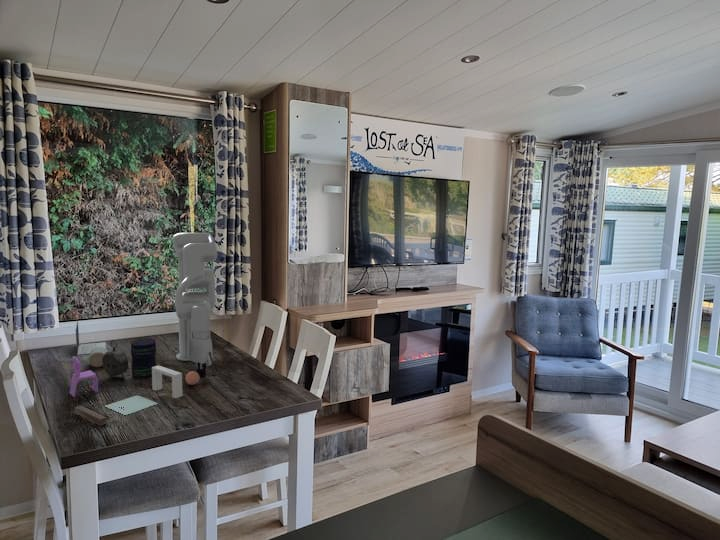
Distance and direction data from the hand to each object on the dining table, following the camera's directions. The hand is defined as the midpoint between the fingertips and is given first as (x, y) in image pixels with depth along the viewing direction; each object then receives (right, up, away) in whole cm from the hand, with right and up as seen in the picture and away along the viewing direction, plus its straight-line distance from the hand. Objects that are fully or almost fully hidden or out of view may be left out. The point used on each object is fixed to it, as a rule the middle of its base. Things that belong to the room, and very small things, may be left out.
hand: (201, 377), depth 210 cm
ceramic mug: (-50, +2, +18) cm, 53 cm away
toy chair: (-41, -3, -15) cm, 43 cm away
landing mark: (-18, -5, -25) cm, 31 cm away
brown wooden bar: (-26, -6, -38) cm, 46 cm away
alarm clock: (-37, -1, +2) cm, 37 cm away
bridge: (-9, -3, -13) cm, 16 cm away
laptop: (-67, +5, +41) cm, 79 cm away
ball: (-3, +1, -4) cm, 5 cm away
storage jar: (-26, -1, +5) cm, 26 cm away
